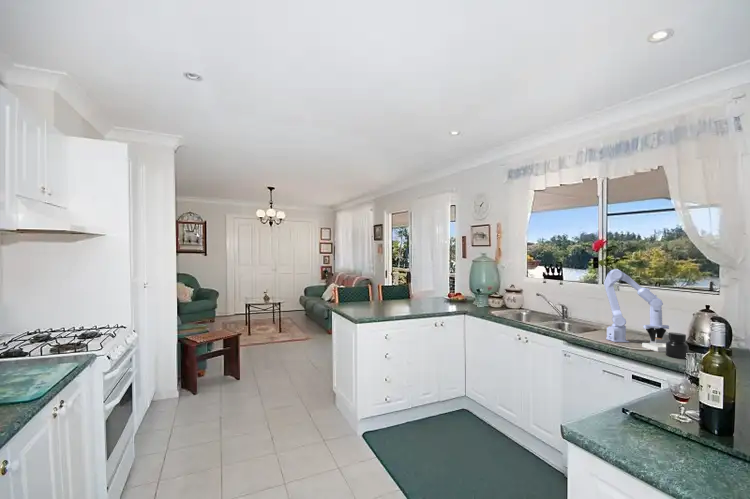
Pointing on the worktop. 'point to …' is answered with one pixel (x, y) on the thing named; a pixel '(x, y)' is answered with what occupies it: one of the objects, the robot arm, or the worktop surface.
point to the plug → (656, 340)
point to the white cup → (665, 337)
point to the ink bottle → (677, 346)
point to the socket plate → (655, 346)
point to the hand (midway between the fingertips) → (656, 341)
